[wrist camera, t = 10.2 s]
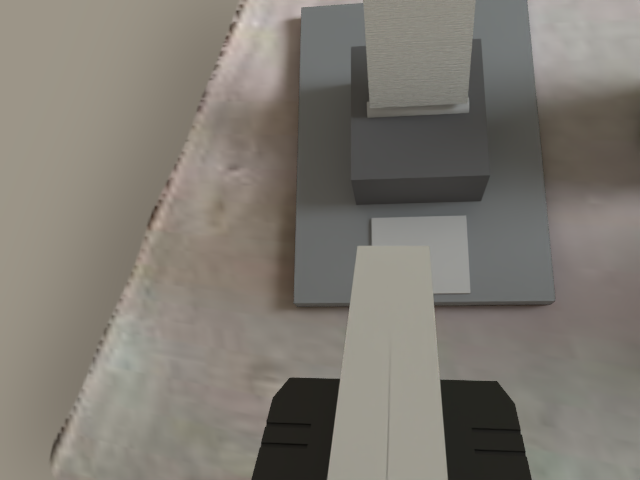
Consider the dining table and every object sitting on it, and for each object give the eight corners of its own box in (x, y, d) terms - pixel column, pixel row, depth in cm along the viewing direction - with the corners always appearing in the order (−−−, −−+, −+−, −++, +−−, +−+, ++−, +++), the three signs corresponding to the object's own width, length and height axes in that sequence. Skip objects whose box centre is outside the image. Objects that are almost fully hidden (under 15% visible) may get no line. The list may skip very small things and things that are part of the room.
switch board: (550, 304, 38) (577, 283, 32) (296, 306, 40) (278, 287, 34) (523, 2, 44) (541, -61, 38) (303, 17, 46) (289, -40, 40)
